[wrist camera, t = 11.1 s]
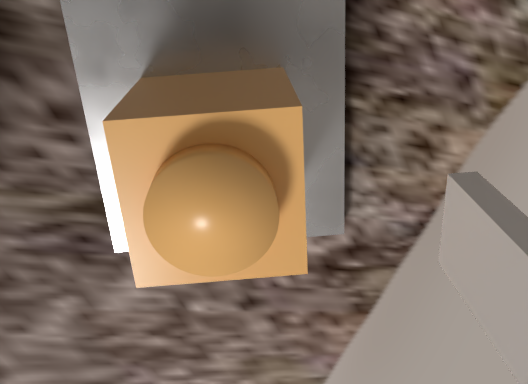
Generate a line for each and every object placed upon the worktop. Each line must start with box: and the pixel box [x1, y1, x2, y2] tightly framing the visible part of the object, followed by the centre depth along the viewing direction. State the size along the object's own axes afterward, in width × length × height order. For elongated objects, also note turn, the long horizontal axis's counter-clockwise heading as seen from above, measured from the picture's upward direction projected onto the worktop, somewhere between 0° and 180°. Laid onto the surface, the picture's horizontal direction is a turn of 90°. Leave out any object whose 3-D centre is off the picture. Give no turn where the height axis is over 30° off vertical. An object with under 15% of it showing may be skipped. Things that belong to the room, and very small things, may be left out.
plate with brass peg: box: [60, 0, 345, 252], centre depth 21 cm, size 14×12×7 cm
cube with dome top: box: [102, 67, 308, 288], centre depth 20 cm, size 6×6×8 cm
